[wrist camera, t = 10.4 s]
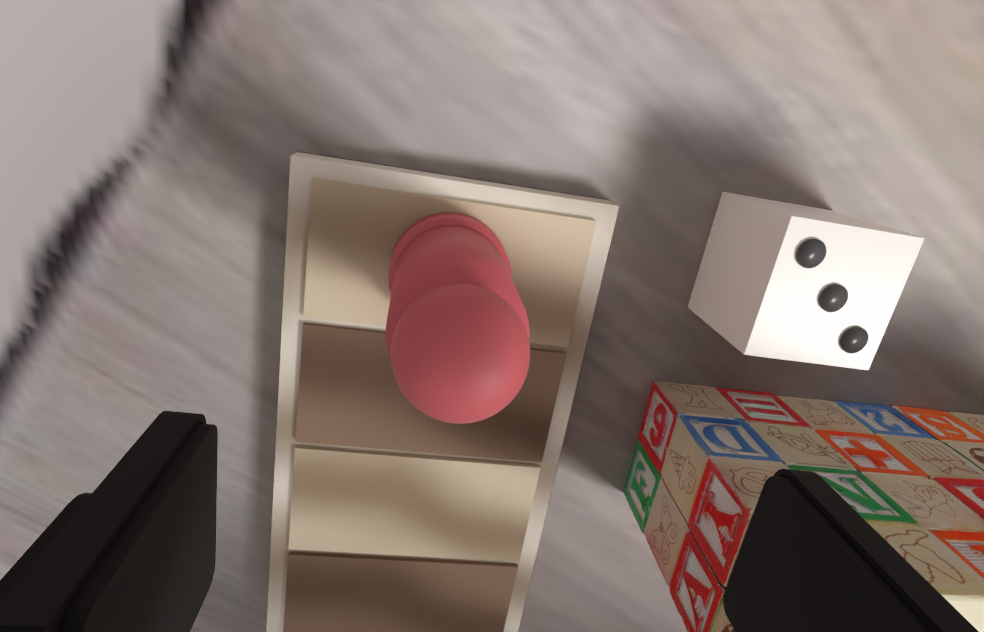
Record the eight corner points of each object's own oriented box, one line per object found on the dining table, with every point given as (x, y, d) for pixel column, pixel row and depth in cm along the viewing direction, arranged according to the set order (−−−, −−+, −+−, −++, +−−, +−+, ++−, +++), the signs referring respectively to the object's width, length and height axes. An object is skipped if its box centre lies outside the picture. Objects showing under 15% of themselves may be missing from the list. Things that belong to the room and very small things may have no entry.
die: (791, 321, 27) (870, 371, 22) (686, 306, 26) (745, 355, 21) (831, 210, 25) (926, 239, 20) (721, 191, 24) (793, 216, 20)
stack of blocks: (1049, 416, 30) (1428, 617, 19) (995, 518, 32) (1306, 753, 21) (649, 378, 27) (813, 591, 16) (618, 493, 29) (743, 756, 18)
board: (509, 635, 32) (512, 659, 30) (271, 627, 30) (264, 652, 28) (610, 200, 24) (620, 207, 23) (297, 151, 22) (289, 156, 21)
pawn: (496, 330, 24) (538, 472, 15) (384, 317, 23) (359, 457, 14) (516, 221, 22) (576, 308, 14) (397, 203, 22) (379, 283, 13)
